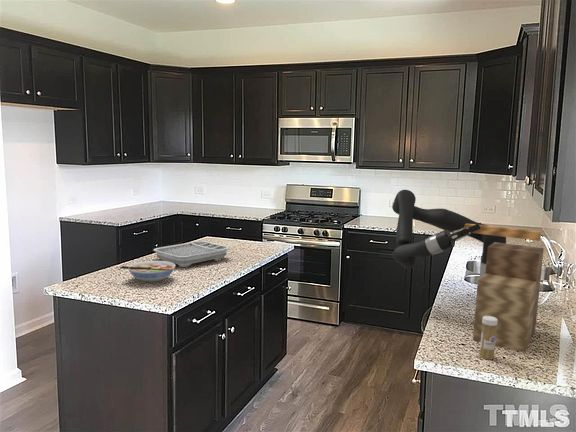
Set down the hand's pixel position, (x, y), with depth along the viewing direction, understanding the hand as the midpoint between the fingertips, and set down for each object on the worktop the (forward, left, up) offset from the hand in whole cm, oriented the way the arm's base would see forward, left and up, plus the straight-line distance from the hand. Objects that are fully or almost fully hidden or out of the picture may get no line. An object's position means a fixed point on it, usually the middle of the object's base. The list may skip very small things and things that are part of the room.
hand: (480, 225), depth 181 cm
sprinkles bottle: (+24, +21, -39) cm, 51 cm away
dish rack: (+52, -149, -39) cm, 162 cm away
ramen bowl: (+86, -120, -39) cm, 153 cm away
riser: (+1, +14, -39) cm, 41 cm away
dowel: (-3, +7, -3) cm, 8 cm away
